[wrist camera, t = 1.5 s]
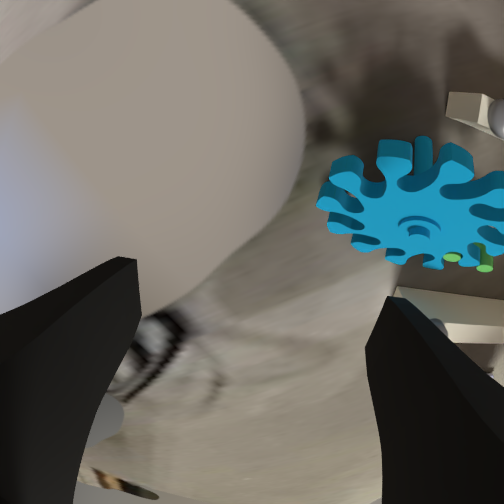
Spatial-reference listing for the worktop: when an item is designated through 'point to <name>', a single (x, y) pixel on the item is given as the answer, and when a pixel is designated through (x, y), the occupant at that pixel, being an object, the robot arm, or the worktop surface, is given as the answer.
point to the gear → (418, 205)
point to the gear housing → (454, 305)
